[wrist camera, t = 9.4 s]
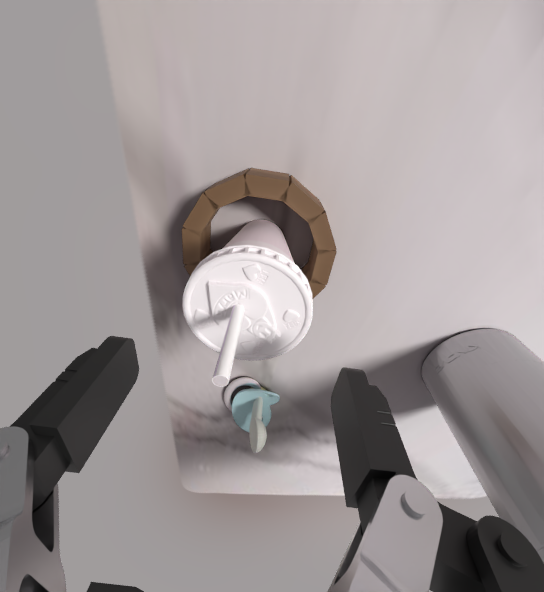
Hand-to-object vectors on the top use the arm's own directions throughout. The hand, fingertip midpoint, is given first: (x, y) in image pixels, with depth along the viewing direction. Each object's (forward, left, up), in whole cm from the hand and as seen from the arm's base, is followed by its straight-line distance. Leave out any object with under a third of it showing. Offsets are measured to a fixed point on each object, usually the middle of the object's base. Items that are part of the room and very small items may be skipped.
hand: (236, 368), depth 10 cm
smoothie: (0, 0, -13) cm, 13 cm away
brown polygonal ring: (0, 0, -13) cm, 13 cm away
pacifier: (-10, +15, -13) cm, 22 cm away
